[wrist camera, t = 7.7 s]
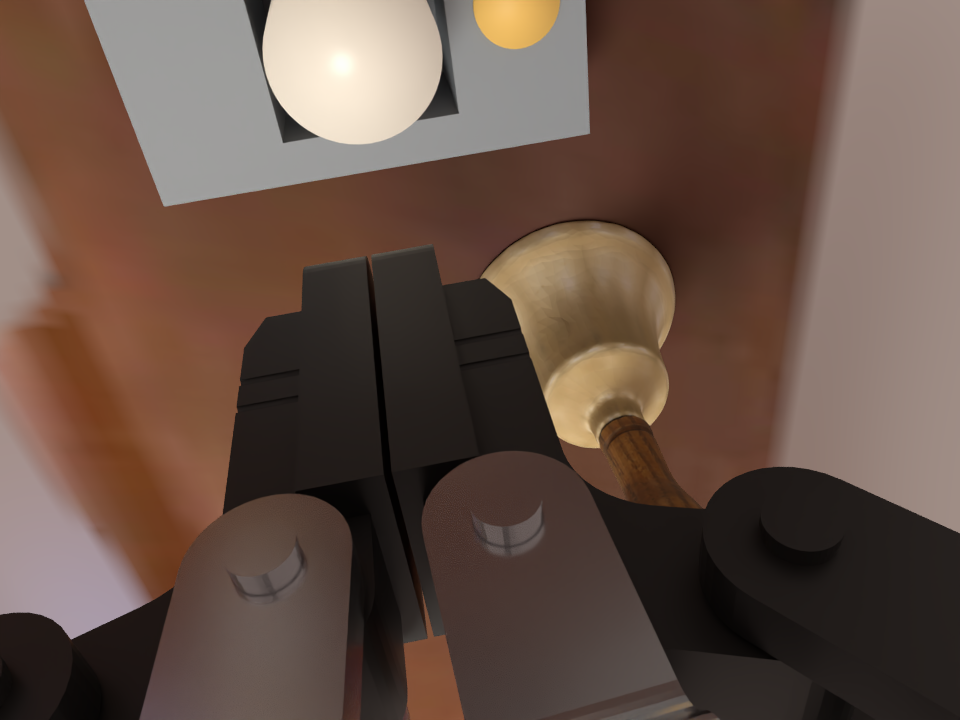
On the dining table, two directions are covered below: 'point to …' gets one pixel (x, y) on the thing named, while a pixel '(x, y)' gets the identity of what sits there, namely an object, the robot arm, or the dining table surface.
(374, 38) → the button
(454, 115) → the console
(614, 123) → the dining table surface
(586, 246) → the hand bell
